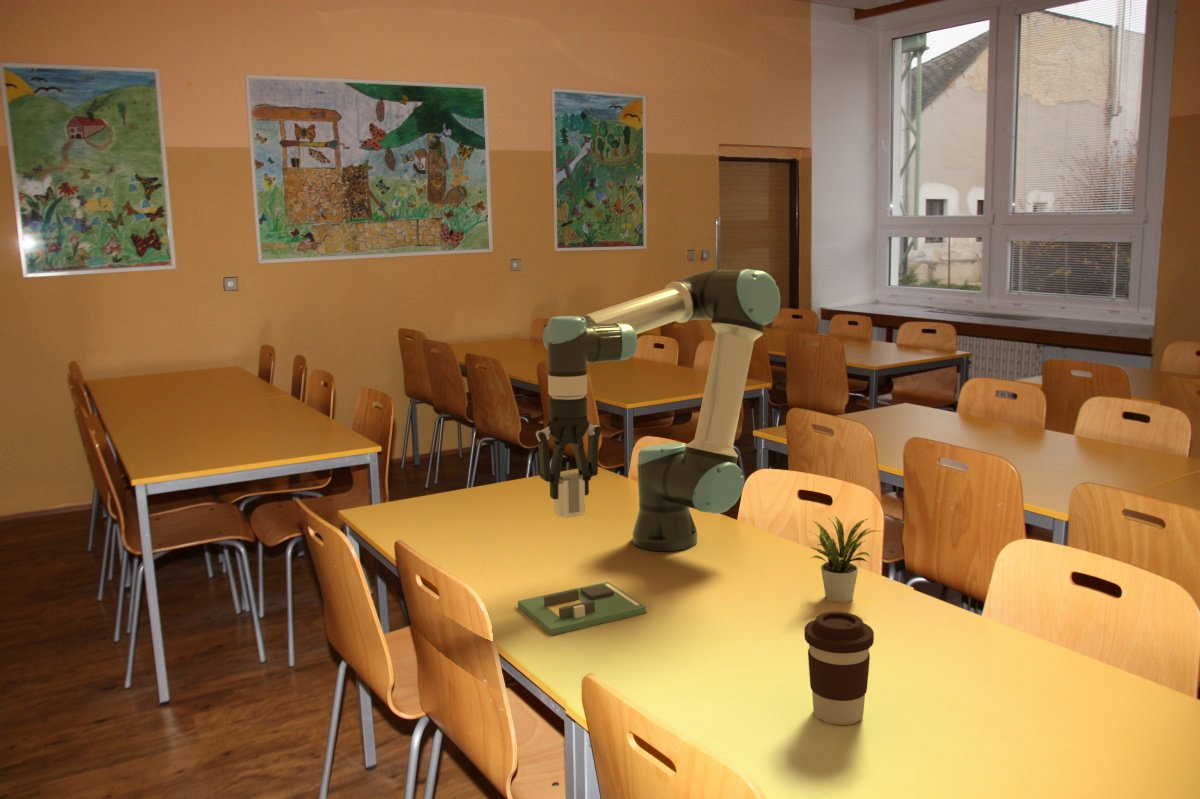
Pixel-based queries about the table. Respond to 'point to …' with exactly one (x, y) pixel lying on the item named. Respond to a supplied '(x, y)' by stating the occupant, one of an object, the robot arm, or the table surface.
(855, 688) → the coffee cup
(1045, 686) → the table surface
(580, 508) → the plug
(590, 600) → the board
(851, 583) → the house plant
